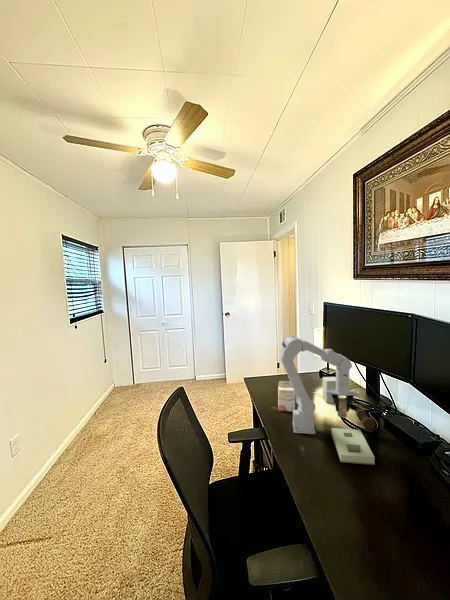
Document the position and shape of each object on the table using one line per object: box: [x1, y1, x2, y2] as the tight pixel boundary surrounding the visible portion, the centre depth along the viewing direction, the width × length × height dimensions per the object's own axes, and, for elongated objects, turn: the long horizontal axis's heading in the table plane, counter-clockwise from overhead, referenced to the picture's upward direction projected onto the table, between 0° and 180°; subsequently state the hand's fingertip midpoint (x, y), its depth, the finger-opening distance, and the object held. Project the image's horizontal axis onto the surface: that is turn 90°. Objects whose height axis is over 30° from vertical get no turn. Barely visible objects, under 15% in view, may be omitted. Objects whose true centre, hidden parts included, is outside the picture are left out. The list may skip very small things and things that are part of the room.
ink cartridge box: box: [277, 380, 296, 412], centre depth 158 cm, size 9×5×15 cm, turn 84°
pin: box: [337, 396, 348, 419], centre depth 138 cm, size 4×4×8 cm
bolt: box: [355, 407, 376, 430], centre depth 144 cm, size 6×5×15 cm
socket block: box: [330, 427, 376, 466], centre depth 122 cm, size 12×20×3 cm, turn 170°
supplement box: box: [322, 376, 340, 404], centre depth 168 cm, size 7×7×13 cm
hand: (342, 410), depth 138 cm, fingers closed on pin, 4 cm apart
